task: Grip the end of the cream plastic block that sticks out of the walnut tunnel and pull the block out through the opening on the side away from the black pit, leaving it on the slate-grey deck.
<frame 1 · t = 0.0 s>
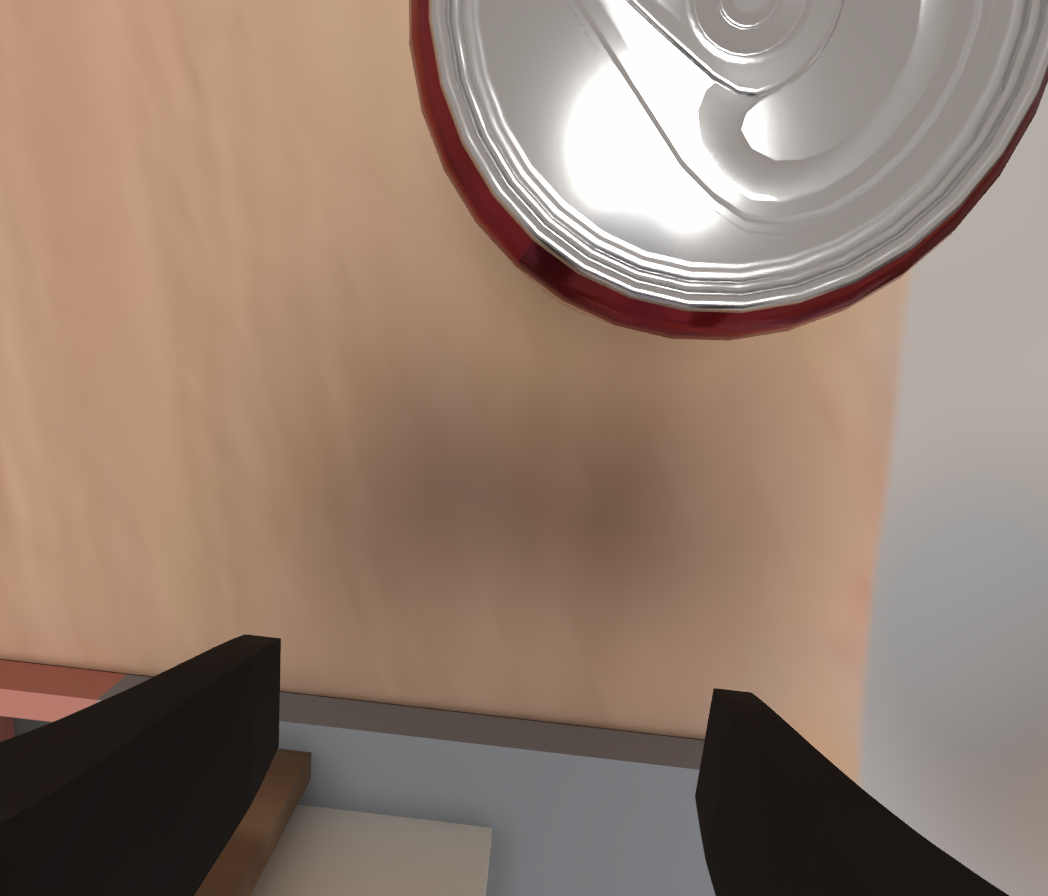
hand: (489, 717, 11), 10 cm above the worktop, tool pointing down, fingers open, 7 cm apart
soda can: (626, 189, 19), on the worktop
cream block: (323, 859, 22), point 1 cm above the worktop, touching grey deck
walnut tunnel: (255, 814, 24), resting on grey deck
grey deck: (324, 822, 23), on the worktop
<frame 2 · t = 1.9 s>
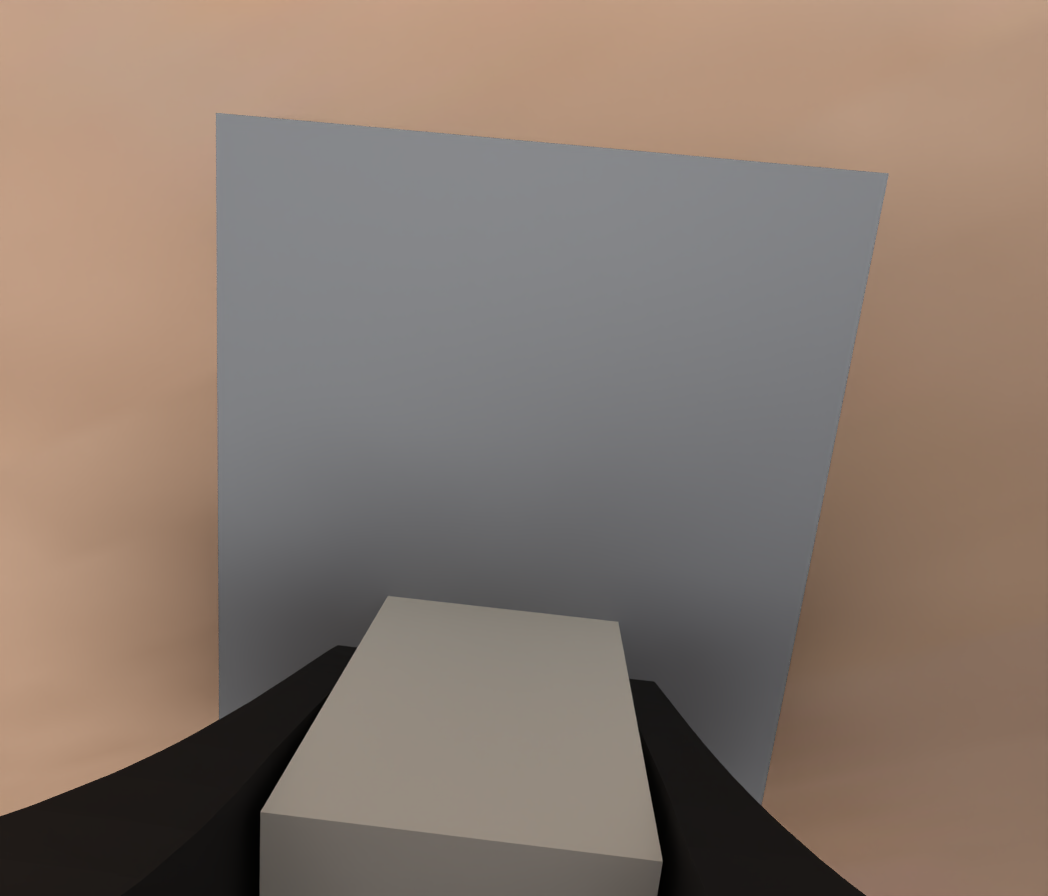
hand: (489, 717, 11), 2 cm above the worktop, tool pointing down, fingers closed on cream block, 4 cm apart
cream block: (477, 874, 13), point 1 cm above the worktop, touching grey deck, gripper
grey deck: (483, 834, 14), on the worktop
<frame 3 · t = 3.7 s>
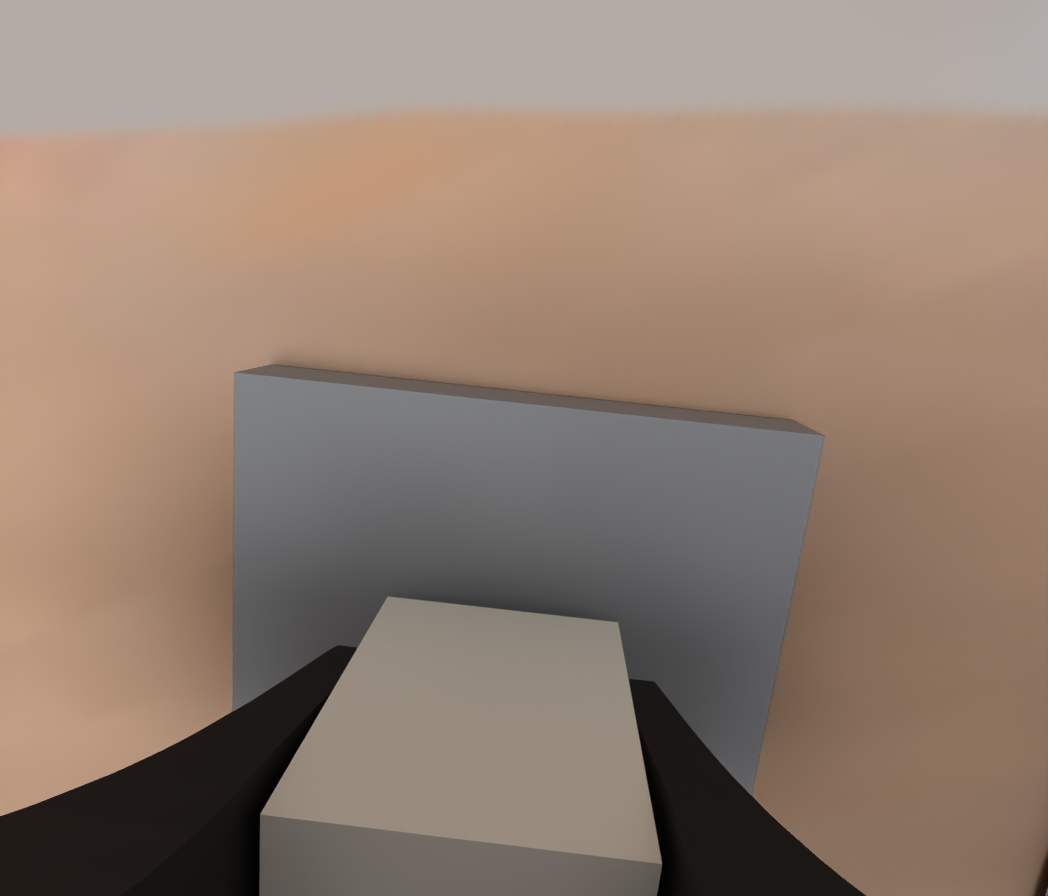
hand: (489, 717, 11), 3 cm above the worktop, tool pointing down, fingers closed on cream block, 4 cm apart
cream block: (477, 873, 13), point 2 cm above the worktop, touching gripper
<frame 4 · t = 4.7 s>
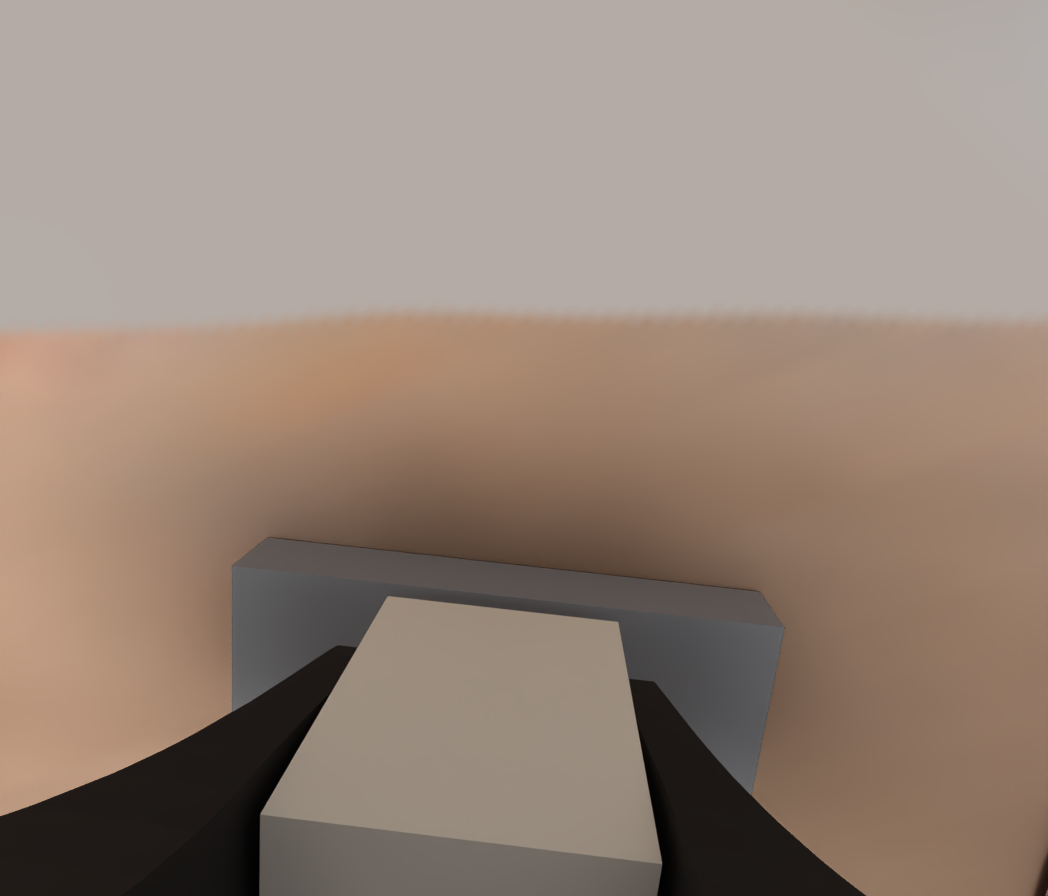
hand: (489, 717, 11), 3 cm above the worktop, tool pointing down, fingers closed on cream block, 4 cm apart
cream block: (477, 873, 13), point 2 cm above the worktop, touching gripper
when the fingers open (3 cm above the worktop, at t = 5.6 s): cream block stays where it is, resting on grey deck.
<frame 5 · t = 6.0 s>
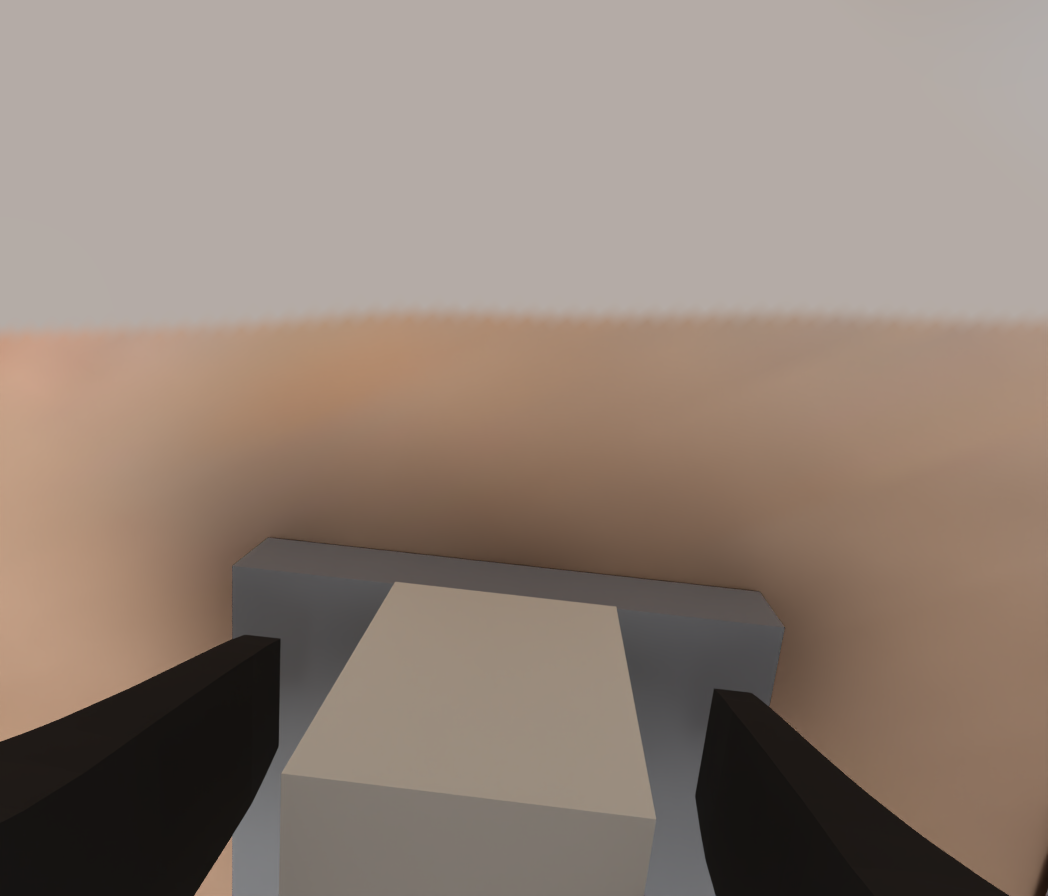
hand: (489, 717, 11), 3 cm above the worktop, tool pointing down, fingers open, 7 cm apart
cream block: (480, 851, 13), point 1 cm above the worktop, touching grey deck
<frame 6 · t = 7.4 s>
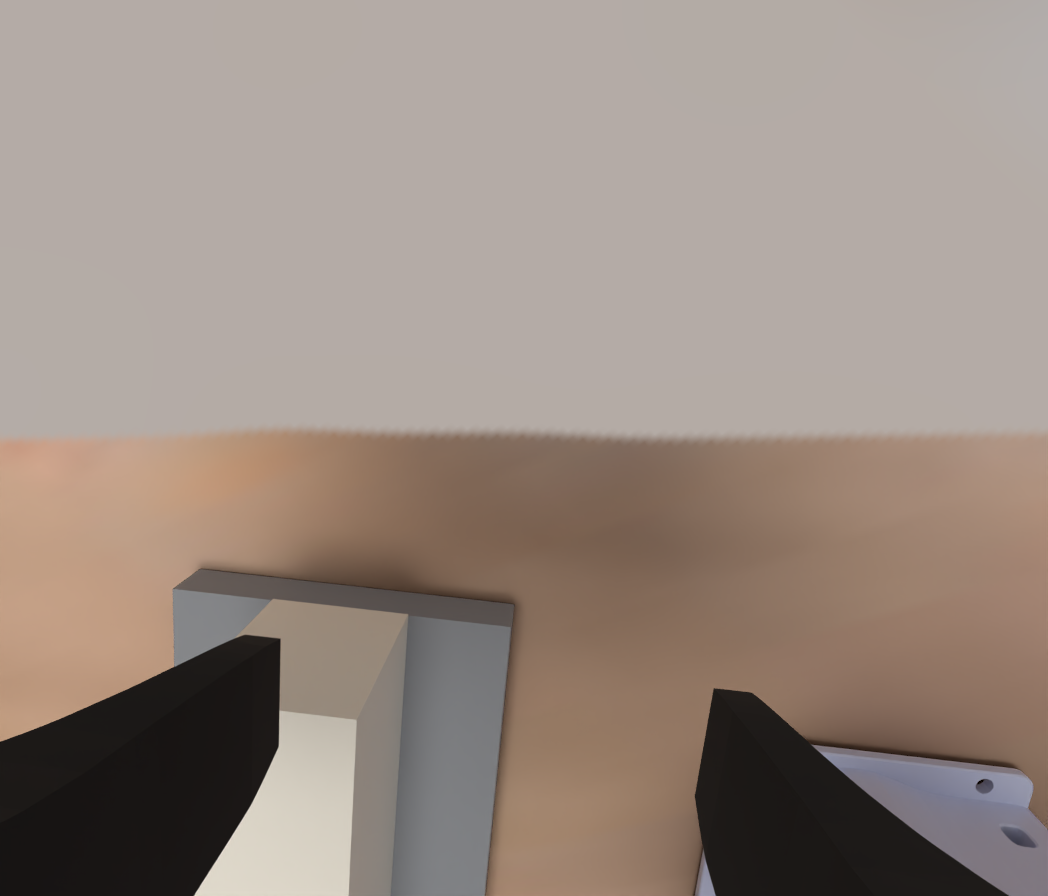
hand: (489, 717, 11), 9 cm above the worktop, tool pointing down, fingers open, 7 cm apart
cream block: (334, 770, 20), point 1 cm above the worktop, touching grey deck
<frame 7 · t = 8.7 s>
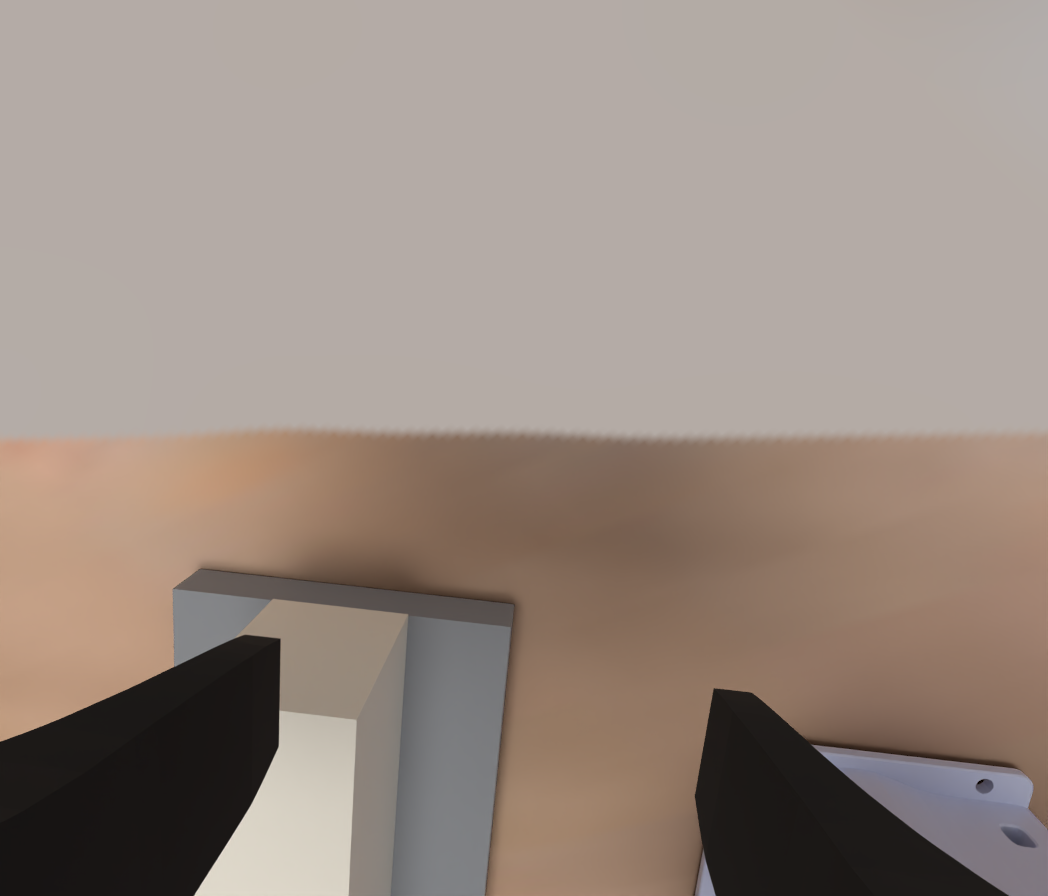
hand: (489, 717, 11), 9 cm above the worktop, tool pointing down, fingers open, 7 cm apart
cream block: (334, 770, 20), point 1 cm above the worktop, touching grey deck
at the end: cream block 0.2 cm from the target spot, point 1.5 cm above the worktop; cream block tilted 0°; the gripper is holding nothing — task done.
